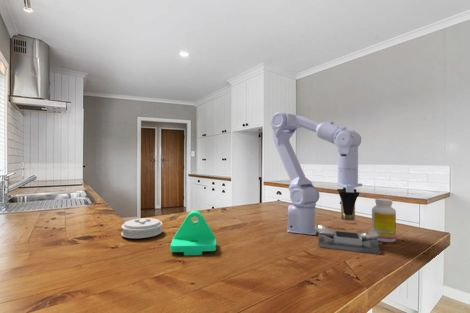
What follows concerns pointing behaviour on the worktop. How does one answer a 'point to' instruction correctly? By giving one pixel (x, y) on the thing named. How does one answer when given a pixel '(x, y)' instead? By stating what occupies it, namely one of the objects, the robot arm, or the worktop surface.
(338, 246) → the shaft stand
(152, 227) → the lid
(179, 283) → the worktop surface
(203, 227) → the camera mount
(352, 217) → the coupling
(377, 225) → the supplement bottle
